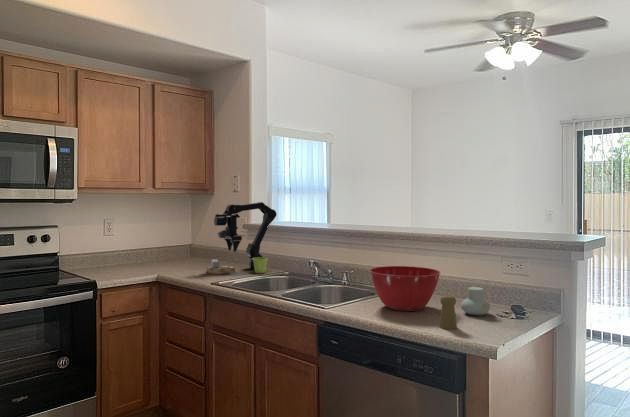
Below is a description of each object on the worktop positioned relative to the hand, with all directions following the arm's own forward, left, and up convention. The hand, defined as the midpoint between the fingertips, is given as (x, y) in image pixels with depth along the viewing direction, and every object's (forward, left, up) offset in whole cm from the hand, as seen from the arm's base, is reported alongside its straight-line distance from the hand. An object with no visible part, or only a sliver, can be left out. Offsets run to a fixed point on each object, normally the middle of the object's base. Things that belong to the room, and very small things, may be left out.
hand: (232, 251), depth 295 cm
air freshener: (-48, +146, -12) cm, 154 cm away
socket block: (+8, +3, -12) cm, 15 cm away
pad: (+1, +13, -12) cm, 18 cm away
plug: (+11, +3, -12) cm, 17 cm away
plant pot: (-12, +15, -12) cm, 23 cm away
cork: (-25, +155, -12) cm, 157 cm away
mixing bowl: (-31, +124, -12) cm, 129 cm away
